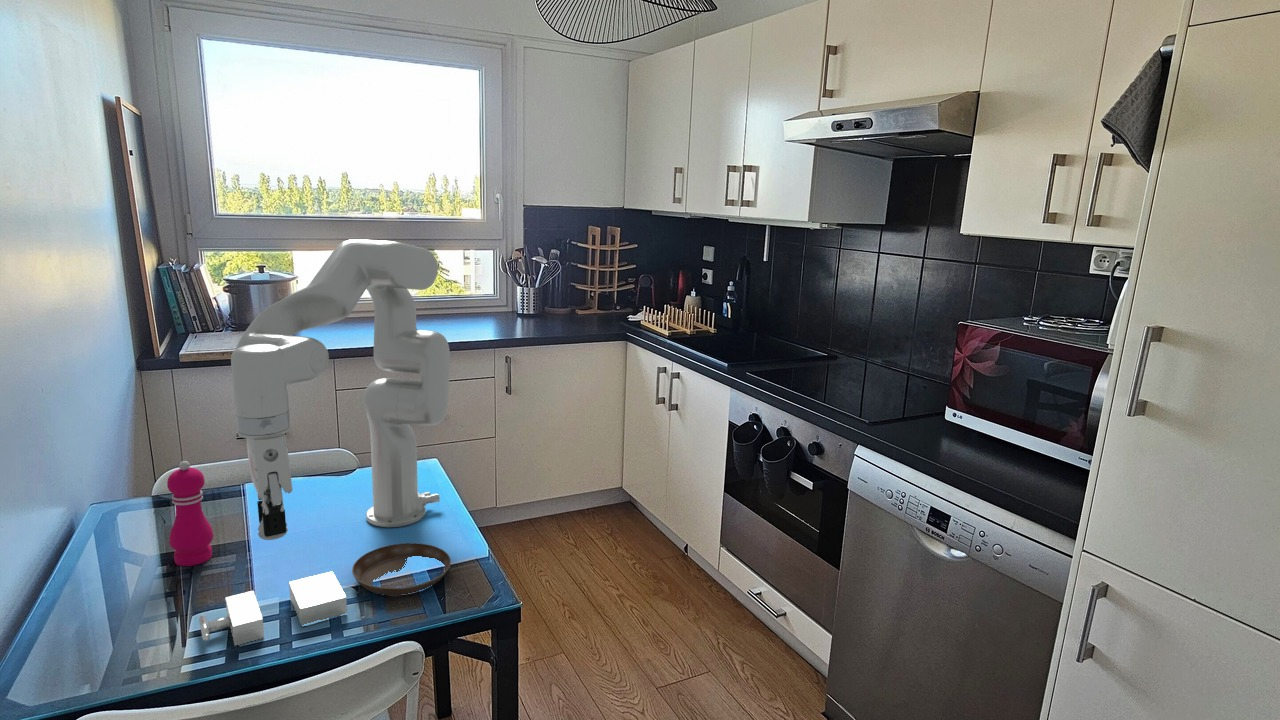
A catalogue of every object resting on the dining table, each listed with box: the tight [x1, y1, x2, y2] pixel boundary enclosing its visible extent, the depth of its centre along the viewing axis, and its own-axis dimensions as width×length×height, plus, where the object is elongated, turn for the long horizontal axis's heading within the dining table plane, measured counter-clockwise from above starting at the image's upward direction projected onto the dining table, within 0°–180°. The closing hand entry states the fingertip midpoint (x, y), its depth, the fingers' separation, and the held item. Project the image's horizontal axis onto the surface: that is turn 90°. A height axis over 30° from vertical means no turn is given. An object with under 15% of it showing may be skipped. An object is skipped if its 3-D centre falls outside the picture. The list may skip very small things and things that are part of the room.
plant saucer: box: [351, 542, 452, 595], centre depth 138 cm, size 18×18×3 cm
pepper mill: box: [166, 460, 214, 567], centre depth 139 cm, size 7×7×20 cm
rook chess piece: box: [257, 491, 289, 541], centre depth 119 cm, size 4×4×8 cm
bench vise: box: [198, 571, 348, 647], centre depth 123 cm, size 21×10×4 cm, turn 125°
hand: (272, 526), depth 120 cm, fingers closed on rook chess piece, 4 cm apart
